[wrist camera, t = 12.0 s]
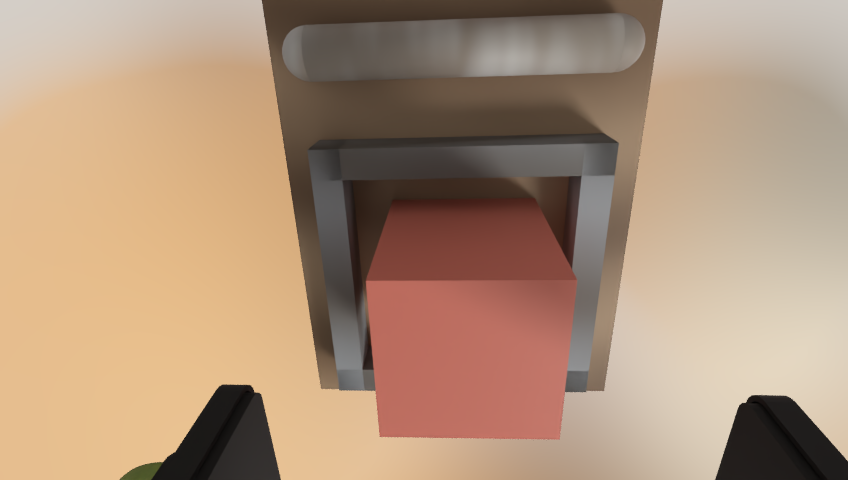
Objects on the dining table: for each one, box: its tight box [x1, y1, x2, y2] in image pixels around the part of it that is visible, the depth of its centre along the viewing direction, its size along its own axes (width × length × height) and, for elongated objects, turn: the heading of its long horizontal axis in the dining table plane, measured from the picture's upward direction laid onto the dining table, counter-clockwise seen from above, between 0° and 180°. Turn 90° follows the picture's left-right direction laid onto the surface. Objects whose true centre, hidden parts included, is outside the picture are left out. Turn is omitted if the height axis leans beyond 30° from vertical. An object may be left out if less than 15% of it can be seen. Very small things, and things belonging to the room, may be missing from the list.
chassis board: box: [262, 0, 663, 392], centre depth 17 cm, size 16×12×3 cm
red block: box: [366, 198, 577, 439], centre depth 15 cm, size 5×5×6 cm
